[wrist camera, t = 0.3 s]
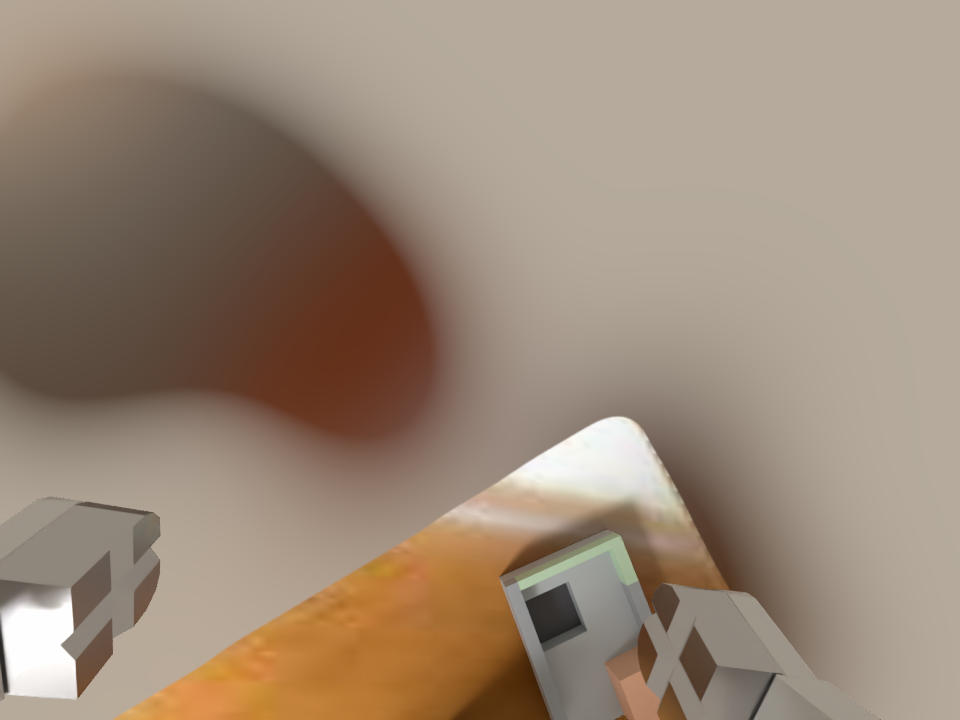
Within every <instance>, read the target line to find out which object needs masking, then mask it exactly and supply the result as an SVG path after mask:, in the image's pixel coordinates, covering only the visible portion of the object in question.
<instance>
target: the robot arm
mask: <svg viewBox="0 0 960 720" xmlns="http://www.w3.org/2000/svg"><path fill="white" fill-rule="evenodd" d="M158 537H160V517H159V516H157V515H156V514H155V513H154V512H148V511H142V510H136V509H129V508H123V507H117V506H111V505H104V504H99V503H92V502H82V501H76V500H70V499H64V498H57V497H47V498H42V499H38V500H36V501H35V502H33V503H32V504H30V505H29V506H27V507H26V508H24V509H23V510H22V511H20V512H19V513H17V514H16V515H14V516H13V517H11V518H10V519H9V520H7V521H6V522H4V523H3V524H1V525H0V701H2V700H3V699H4V695H20V696H34V697H49V698H64V699H78V698H79V697H80V695H81V694H82V693H83V691H84V690H85V689H86V687H87V686H88V685H89V684H90V682H91V681H92V679H94V677H95V676H96V675H97V673H98V672H99V671H100V669H101V668H102V667H103V666H104V664H105V663H106V662H107V661H108V659H109V658H110V657H111V655H112V654H113V638H114V637H116V636H117V635H119V634H121V633H123V632H125V631H127V630H128V629H130V628H132V627H134V625H135V624H136V623H137V622H138V620H139V619H140V617H141V616H142V615H143V613H144V612H145V611H146V609H147V607H148V605H149V603H150V601H151V599H152V597H153V595H154V593H155V590H156V587H157V583H158V579H159V574H160V559H159V558H158V556H157V555H156V554H155V552H154V551H153V550H152V549H151V546H152V544H153V543H154V542H155V541H156V540H157V539H158ZM651 602H652V604H653V607H654V609H655V612H656V613H654V614H653V615H652V616H650V617H649V618H648V619H646V620H645V621H644V622H643V624H642V627H641V630H640V633H639V636H638V660H639V665H640V670H641V673H642V676H643V678H644V681H645V684H646V685H647V686H648V687H649V688H650V690H651V691H652V692H653V693H654V694H655V695H656V696H657V697H658V698H659V699H660V704H659V707H658V711H657V714H658V717H659V719H660V720H881V719H879V718H878V717H876V716H875V715H874V714H872V713H871V712H870V711H868V710H867V709H865V708H864V707H863V706H861V705H860V704H859V703H857V702H856V701H854V700H853V699H852V698H850V697H849V696H848V695H846V694H845V693H843V692H842V691H841V690H839V689H838V688H836V687H835V686H834V685H832V684H831V683H830V682H828V681H825V680H818V679H817V678H816V676H815V675H814V674H813V673H812V671H811V670H810V669H809V667H808V666H807V665H806V663H805V662H804V661H803V659H802V658H801V657H800V656H799V654H798V653H797V652H796V650H795V649H794V648H793V646H792V645H791V644H790V642H789V641H788V640H787V639H786V637H785V636H784V635H783V634H782V632H781V631H780V629H779V628H778V627H777V626H776V624H775V623H774V622H773V620H772V619H771V618H770V617H769V615H768V614H767V613H766V611H765V610H764V609H763V607H762V606H761V605H760V603H759V602H758V601H757V600H756V599H755V598H754V597H753V596H751V595H750V594H748V593H746V592H737V591H729V590H720V589H719V590H713V589H706V588H698V587H690V586H683V585H675V584H668V583H662V584H661V585H660V586H659V587H658V588H657V589H656V590H655V593H654V595H653V598H652V600H651Z"/></svg>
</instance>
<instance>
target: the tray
mask: <svg viewBox="0 0 960 720" xmlns="http://www.w3.org/2000/svg"><path fill="white" fill-rule="evenodd" d="M499 578H500V581H501V584H502V586H503V589H504V592H505V595H506V597H507V600H508V603H509V606H510V608H511V611H512V614H513V617H514V619H515V622H516V625H517V628H518V630H519V633H520V636H521V639H522V641H523V644H524V647H525V650H526V652H527V655H528V658H529V661H530V663H531V666H532V669H533V672H534V674H535V677H536V680H537V683H538V686H539V688H540V691H541V694H542V697H543V699H544V702H545V705H546V708H547V710H548V713H549V716H550V719H551V720H615V719H617V718H618V717H620V716H622V715H624V713H623V711H622V708H621V706H620V703H619V700H618V698H617V695H616V692H615V690H614V687H613V685H612V682H611V679H610V677H609V674H608V671H607V669H606V666H605V664H604V663H605V662H607V661H609V660H611V659H613V658H615V657H617V656H619V655H621V654H623V653H625V652H627V651H629V650H631V649H633V648H635V647H637V646H638V636H639V633H640V630H641V627H642V624H643V622H644V621H645V620H646V619H648V618H649V617H650V616H652V613H651V611H650V608H649V606H648V603H647V601H646V598H645V596H644V593H643V591H642V588H641V586H640V583H639V581H638V578H637V576H636V573H635V571H634V568H633V566H632V563H631V561H630V558H629V555H628V553H627V550H626V548H625V545H624V543H623V540H622V538H621V535H618V534H616V533H614V532H612V531H609V530H607V529H606V530H603V531H601V532H599V533H597V534H594V535H592V536H590V537H588V538H586V539H583V540H581V541H579V542H577V543H574V544H572V545H570V546H568V547H565V548H563V549H561V550H559V551H556V552H554V553H552V554H550V555H547V556H545V557H543V558H541V559H538V560H536V561H534V562H532V563H529V564H527V565H525V566H523V567H521V568H518V569H516V570H514V571H512V572H509V573H507V574H505V575H503V576H500V577H499Z"/></svg>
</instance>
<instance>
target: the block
mask: <svg viewBox="0 0 960 720" xmlns="http://www.w3.org/2000/svg"><path fill="white" fill-rule="evenodd" d="M604 664H605V666H606V669H607V671H608V674H609V677H610V679H611V682H612V685H613V687H614V690H615V692H616V695H617V698H618V700H619V703H620V706H621V708H622V711H623V713H624V715H625V717H626V718H627V719H628V720H660V719H659V717H658V714H657V711H658V707H659V704H660V699H659V698H658V697H657V696H656V695H655V694H654V693H653V692H652V691H651V690H650V688H649V687H648V686H647V685H646V684H645V681H644V678H643V676H642V673H641V670H640V665H639V660H638V646H637V647H635V648H633V649H631V650H629V651H627V652H625V653H623V654H621V655H619V656H617V657H615V658H613V659H611V660H609V661H607V662H605V663H604Z"/></svg>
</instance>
